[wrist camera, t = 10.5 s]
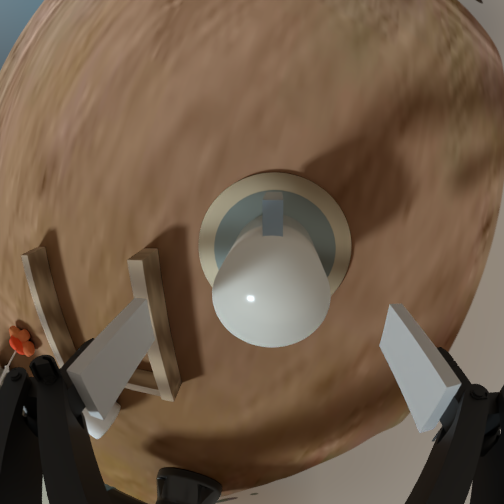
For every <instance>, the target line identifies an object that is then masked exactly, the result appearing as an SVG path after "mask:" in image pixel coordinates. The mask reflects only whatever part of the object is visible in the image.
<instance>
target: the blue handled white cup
mask: <svg viewBox="0 0 504 504" xmlns="http://www.w3.org/2000/svg"><path fill="white" fill-rule="evenodd" d="M330 297H331V293H330V285H329V281H328V278H327V276H326V273H325V271H324V269H323V266H322V264H321V261H320V259H319V256H318V254H317V252H316V249H315V247H314V244H313V242H312V240H311V237H310V235H309V233H308V232H307V230H306V229H305V228H304V226H303V225H302V224H301V223H299V222H298V221H297V220H295V219H293V218H291V217H289V216H286V215H283V195H282V192H266V193H265V195H264V198H263V200H262V216H259V217H257V218H255V219H253V220H251V221H250V222H249V223H248V224H246V225H245V227H244V228H243V229H242V230H241V232H240V233H239V235H238V237H237V239H236V240H235V242H234V244H233V246H232V248H231V249H230V251H229V253H228V255H227V257H226V258H225V260H224V262H223V264H222V265H221V267H220V269H219V271H218V273H217V275H216V277H215V280H214V284H213V290H212V299H213V305H214V308H215V311H216V314H217V316H218V318H219V319H220V321H221V323H222V324H223V325H224V326H225V327H226V329H227V330H229V331H230V332H231V333H232V334H233V335H235V336H236V337H237V338H239V339H241V340H243V341H245V342H247V343H250V344H253V345H256V346H262V347H282V346H287V345H291V344H294V343H297V342H299V341H301V340H303V339H305V338H306V337H308V336H309V335H311V334H312V333H313V332H314V331H315V330H316V329H317V328H318V327H319V326H320V324H321V323H322V322H323V320H324V318H325V316H326V314H327V312H328V309H329V305H330Z"/></svg>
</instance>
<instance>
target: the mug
mask: <svg viewBox="0 0 504 504" xmlns="http://www.w3.org/2000/svg"><path fill="white" fill-rule="evenodd" d="M120 408H121V406H120V404H118V403H117V402H116V401H115V403H114V405H113V406H112V408H111V410H110V411H109V413H108V414H107V416H106V418H105V419H104V420H101V419H99V418H96V417H93V416H90V414H89V412H88V410H87V409H86V407H85V408H84V410H83V411H82V413H83V415H84V417H85V421H86V425H87V429H88V433H89V434H90V435H91V436H93V437H94V438H95V439H99V438H101V437H102V436H103V435H104V434H105V433H106V431H107V430H108V429H109V428H110V426H111V425H112V423H113V422H114V420H115V419H116V417H117V415H118V413H119V411H120Z"/></svg>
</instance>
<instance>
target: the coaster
mask: <svg viewBox="0 0 504 504" xmlns="http://www.w3.org/2000/svg"><path fill="white" fill-rule="evenodd" d="M266 192H282V195H283V215H286V216H289V217H291V218H293V219H295V220H297V221H298V222H299V223H301V224H302V225H303V226H304V228H305V229H306V230H307V232H308V233H309V235H310V237H311V240H312V242H313V244H314V247H315V249H316V252H317V254H318V256H319V259H320V261H321V264H322V266H323V269H324V271H325V273H326V276H327V278H328V281H329V285H330V293H331V295H332V294H333V293H334V292H335V291H336V289H337V288H338V287H339V285H340V284H341V282H342V280H343V278H344V276H345V274H346V272H347V269H348V266H349V262H350V257H351V235H350V230H349V226H348V223H347V221H346V218H345V216H344V214H343V212H342V210H341V208H340V207H339V205H338V204H337V203H336V201H335V200H334V199H333V198H332V197H331V196H330V195H329V194H328V193H327V192H326V191H325V190H324V189H322V188H321V187H319V186H318V185H317V184H315V183H313V182H311V181H309V180H307V179H305V178H302V177H300V176H297V175H292V174H288V173H278V172H272V173H262V174H257V175H253V176H250V177H247V178H244V179H242V180H240V181H238V182H236V183H234V184H233V185H231V186H230V187H229V188H227V189H226V190H225V191H224V192H222V193H221V194H220V195H219V196H218V197H217V198H216V200H215V201H214V202H213V203H212V205H211V206H210V208H209V210H208V211H207V213H206V215H205V217H204V220H203V222H202V226H201V229H200V234H199V256H200V262H201V265H202V269H203V271H204V274H205V276H206V278H207V280H208V281H209V283H210V285H211V286H212V287H213V284H214V280H215V277H216V275H217V273H218V271H219V269H220V267H221V265H222V264H223V262H224V260H225V258H226V257H227V255H228V253H229V251H230V249H231V248H232V246H233V244H234V242H235V240H236V239H237V237H238V235H239V233H240V232H241V230H242V229H243V228H244V227H245V225H246V224H248V223H249V222H250V221H251V220H253V219H255V218H257V217H259V216H262V200H263V198H264V195H265V193H266Z"/></svg>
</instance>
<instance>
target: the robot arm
mask: <svg viewBox="0 0 504 504" xmlns="http://www.w3.org/2000/svg"><path fill="white" fill-rule="evenodd" d="M154 341H155V338H154V333H153V328H152V324H151V319H150V314H149V309H148V303H147V299H143V298H134V299H133V300H132V301H131V302H130V303H129V304H128V305H127V306H126V307H125V308H124V309H123V310H122V311H121V312H120V313H119V314H118V315H117V316H116V317H115V318H114V320H113V321H112V322H111V323H110V324H109V325H108V326H107V327H106V328H105V329H104V330H103V331H102V332H101V333H100V334H99V335H98V336H97V337H96V338H95V339H94V338H92V339H90V340H88V341H87V342H85V343H84V344H83V345H82V346H81V347H80V348H79V349H78V350H77V351H76V352H75V353H74V355H72V356H71V357H70V358H69V359H68V361H67V362H66V363H65V364H64V365H63V366H62V367H61V368H60V369H59V368H58V366H57V364H56V361H55V359H54V358H53V357H52V356H50V355H41V356H39V357H37V358H35V359H34V360H33V361H32V362H31V363H30V366H29V367H30V369H31V371H32V373H33V375H34V377H29V375H28V374H27V372H26V370H25V369H24V368H21V367H18V368H14V369H12V370H10V371H9V372H8V373H7V375H6V377H5V379H4V381H3V384H2V386H1V388H0V504H42V478H43V476H44V481H45V486H46V491H47V496H48V500H49V504H148V503H145V502H143V501H141V500H138V499H136V498H134V497H132V496H130V495H128V494H125V493H123V492H121V491H119V490H117V489H116V488H115V487H111V486H109V485H107V484H105V483H104V482H103V479H102V476H101V474H100V471H99V468H98V465H97V461H96V458H95V455H94V452H93V448H92V445H91V441H90V437H89V433H88V429H87V425H86V421H85V417H84V415H83V413H82V411H83V410H84V408H85V407H86V409H87V410H88V412H89V414H90V416H93V417H96V418H99V419H101V420H104V419H105V418H106V416H107V414H108V413H109V411H110V410H111V408H112V406H113V405H114V403H115V401H116V400H117V398H118V397H119V395H120V393H121V392H122V390H123V389H124V387H125V386H126V384H127V382H128V381H129V379H130V378H131V376H132V375H133V373H134V371H135V370H136V368H137V367H138V365H139V364H140V362H141V361H142V359H143V357H144V356H145V354H146V353H147V351H148V350H149V348H150V347H151V345H152V344H153V342H154ZM379 346H380V348H381V350H382V352H383V354H384V356H385V358H386V360H387V362H388V364H389V366H390V368H391V370H392V372H393V375H394V377H395V379H396V381H397V383H398V385H399V387H400V389H401V392H402V394H403V396H404V398H405V401H406V403H407V405H408V407H409V410H410V412H411V414H412V417H413V419H414V421H415V424H416V426H417V428H418V431H419V433H421V432H425V431H428V430H432V429H434V428H435V426H436V425H437V423H438V422H439V420H440V422H441V423H442V428H441V429H440V430H439V431H438V433H437V434H436V436H435V437H434V438H433V440H432V441H435V439H436V441H435V443H434V446H433V448H432V450H431V453H430V455H429V458H428V460H427V462H426V464H425V466H424V468H423V470H422V473H421V475H420V477H419V479H418V481H417V482H416V484H415V486H414V488H413V490H412V492H411V494H410V496H409V497H408V499H407V501H406V502H405V504H464V503H465V500H466V497H467V495H468V492H469V489H470V486H471V483H472V480H473V483H472V492H471V499H470V504H504V386H503V387H502V389H501V390H500V392H494V393H489V392H488V391H487V389H486V388H484V387H483V386H481V385H479V384H471V383H470V381H469V380H468V378H467V377H466V376H465V374H464V373H463V372H462V370H461V369H460V368H459V366H457V363H456V362H455V361H454V360H453V358H452V356H451V355H450V354H449V353H448V352H447V351H446V350H444V349H443V348H441V347H439V348H436V347H435V345H434V344H433V343H432V341H431V340H430V339H429V337H428V336H427V335H426V333H425V332H424V331H423V330H422V328H421V327H420V326H419V324H418V323H417V322H416V321H415V319H414V318H413V317H412V316H411V314H410V313H409V312H408V311H407V309H406V308H405V307H404V306H403V305H402V304H390V305H389V310H388V314H387V318H386V322H385V326H384V330H383V334H382V338H381V342H380V345H379ZM23 410H24V411H25V414H24V416H23V415H22V412H23ZM500 429H501V434H500ZM221 492H222V486H221V485H220V484H219V483H218V482H216V481H215V480H213V479H211V478H208V477H206V476H203V475H200V474H197V473H194V472H190V471H186V470H182V469H175V468H162V469H160V470H159V472H158V475H157V501H156V504H215V503H216V502H217V500H218V499H219V497H220V495H221Z"/></svg>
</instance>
